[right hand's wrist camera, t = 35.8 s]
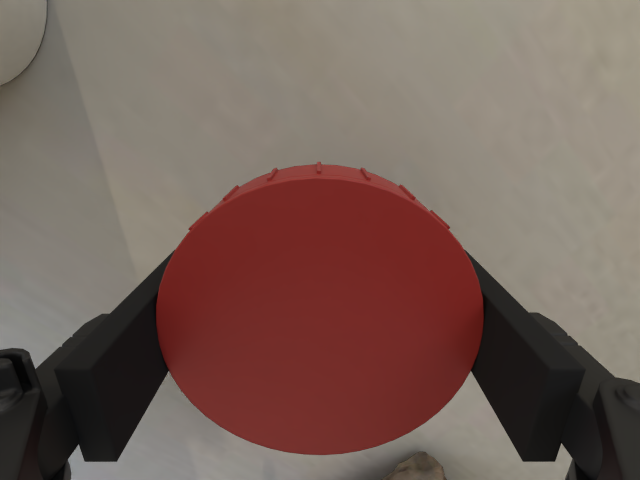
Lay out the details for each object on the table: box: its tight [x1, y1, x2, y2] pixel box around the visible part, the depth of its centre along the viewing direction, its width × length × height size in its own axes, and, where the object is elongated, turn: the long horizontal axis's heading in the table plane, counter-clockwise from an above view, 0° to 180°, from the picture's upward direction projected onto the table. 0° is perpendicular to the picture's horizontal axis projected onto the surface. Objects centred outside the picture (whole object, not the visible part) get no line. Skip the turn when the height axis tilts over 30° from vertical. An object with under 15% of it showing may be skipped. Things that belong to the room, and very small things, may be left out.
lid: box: [156, 162, 484, 455], centre depth 11 cm, size 10×10×2 cm
